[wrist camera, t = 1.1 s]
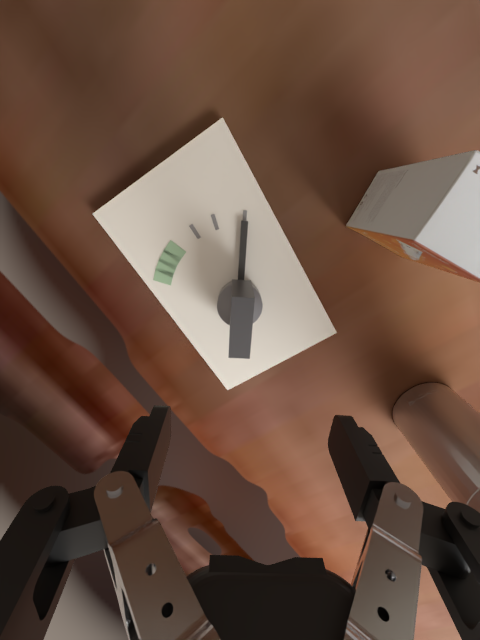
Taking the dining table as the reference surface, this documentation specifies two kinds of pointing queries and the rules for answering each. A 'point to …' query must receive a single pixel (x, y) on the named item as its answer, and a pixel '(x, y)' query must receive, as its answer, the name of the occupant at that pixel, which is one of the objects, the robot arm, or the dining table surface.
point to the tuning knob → (240, 305)
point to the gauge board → (215, 254)
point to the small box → (427, 213)
